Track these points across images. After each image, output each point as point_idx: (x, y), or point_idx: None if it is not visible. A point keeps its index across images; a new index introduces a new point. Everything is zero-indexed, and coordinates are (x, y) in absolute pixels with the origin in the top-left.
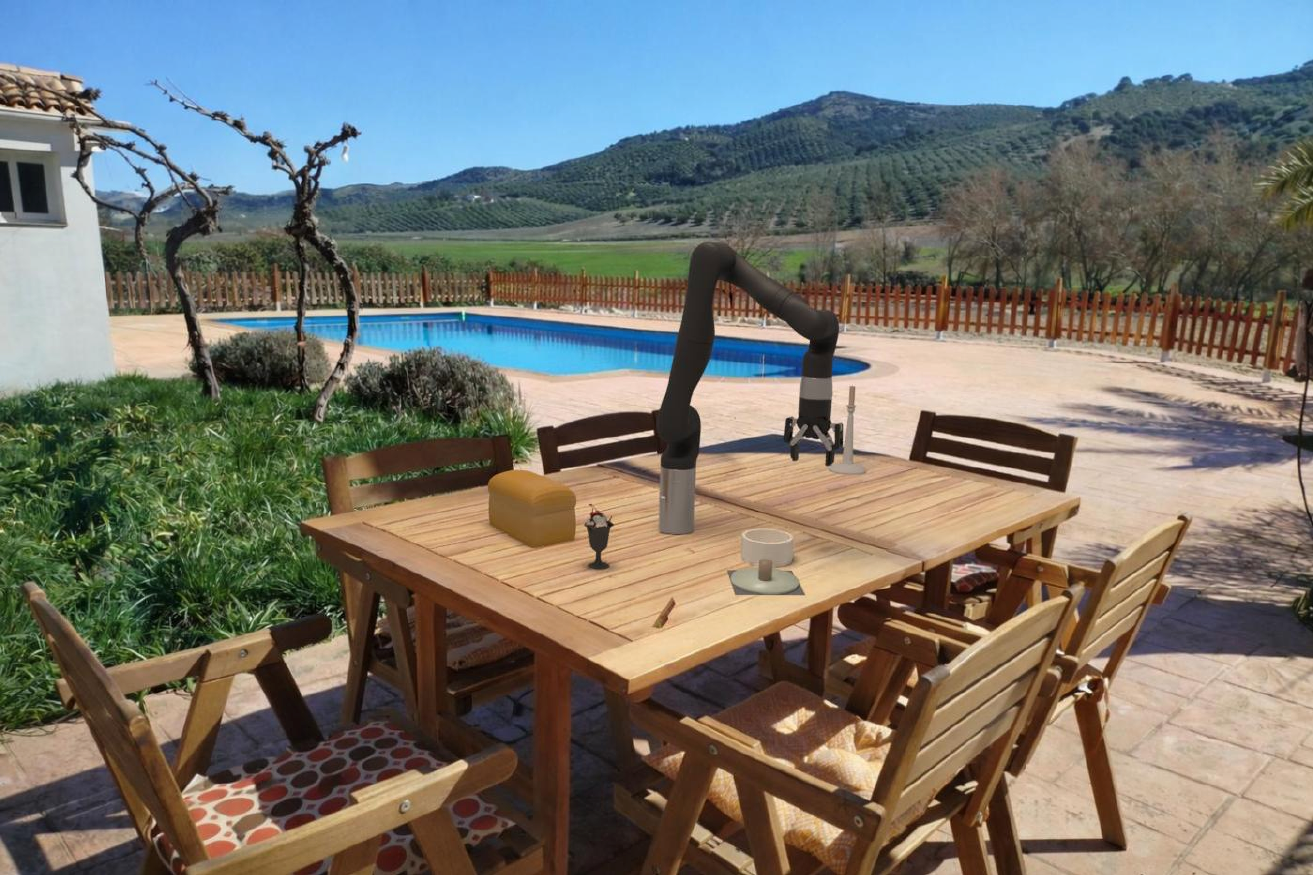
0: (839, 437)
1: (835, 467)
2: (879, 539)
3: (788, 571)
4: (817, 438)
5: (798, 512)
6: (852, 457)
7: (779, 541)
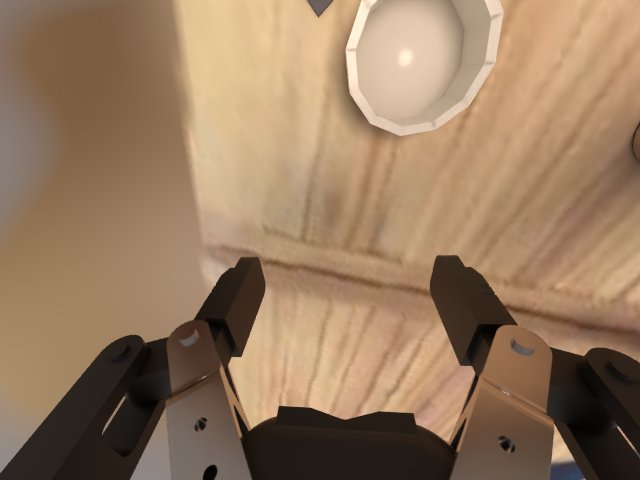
0: (19, 450)
1: None
2: (293, 289)
3: (322, 2)
4: (277, 417)
5: (439, 328)
6: None
7: (398, 122)
